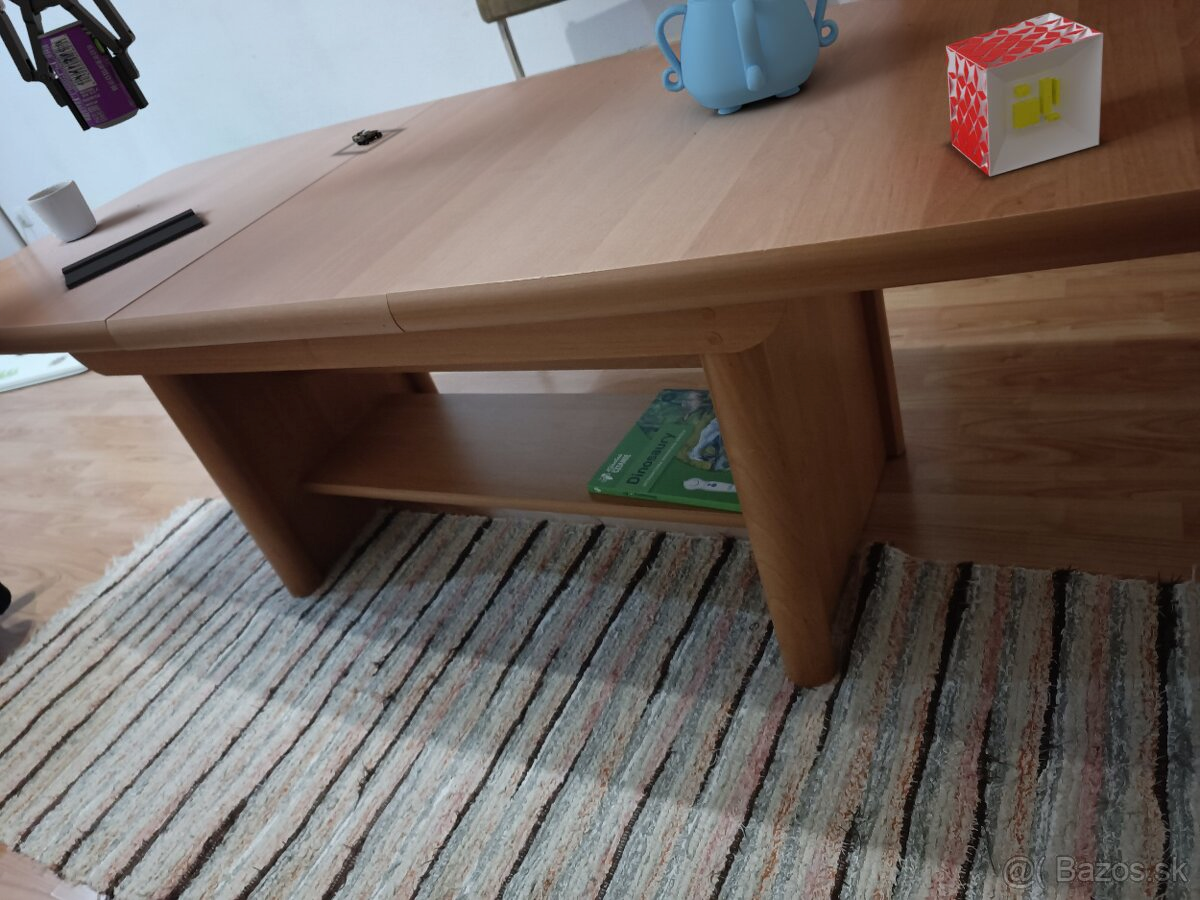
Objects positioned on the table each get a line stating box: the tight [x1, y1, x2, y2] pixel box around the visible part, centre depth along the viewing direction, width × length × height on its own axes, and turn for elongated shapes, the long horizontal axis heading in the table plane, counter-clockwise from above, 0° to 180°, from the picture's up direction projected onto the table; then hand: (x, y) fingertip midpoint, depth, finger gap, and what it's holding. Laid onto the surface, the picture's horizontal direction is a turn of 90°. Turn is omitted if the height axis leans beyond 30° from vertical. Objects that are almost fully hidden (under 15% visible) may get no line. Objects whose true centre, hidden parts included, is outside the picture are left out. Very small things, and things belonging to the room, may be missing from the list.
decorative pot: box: [654, 0, 839, 115], centre depth 94 cm, size 16×16×14 cm
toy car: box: [351, 128, 383, 147], centre depth 136 cm, size 3×4×2 cm, turn 143°
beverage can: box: [37, 20, 140, 130], centre depth 112 cm, size 7×7×12 cm
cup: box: [25, 179, 97, 243], centre depth 145 cm, size 11×8×8 cm
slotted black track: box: [61, 208, 205, 291], centre depth 126 cm, size 20×10×1 cm, turn 122°
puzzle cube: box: [945, 12, 1104, 177], centre depth 66 cm, size 8×8×8 cm
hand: (116, 117), depth 115 cm, fingers closed on beverage can, 7 cm apart
